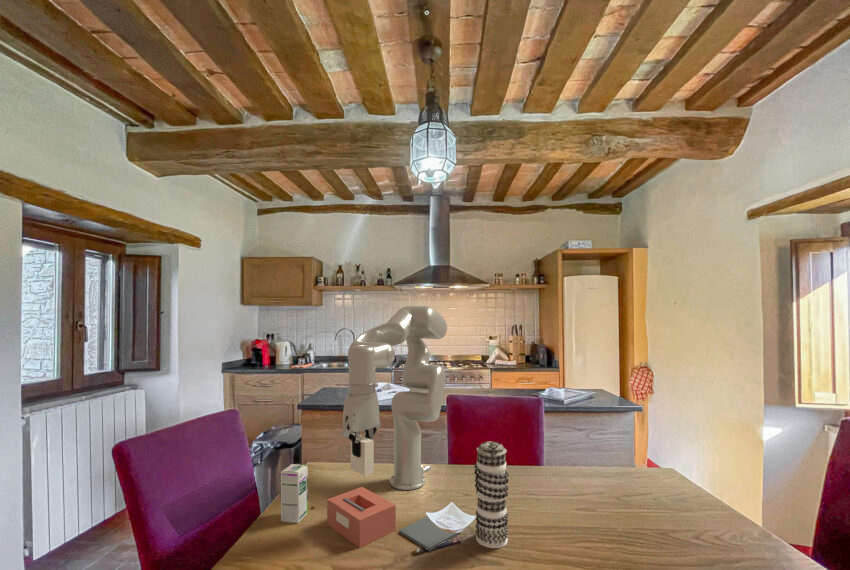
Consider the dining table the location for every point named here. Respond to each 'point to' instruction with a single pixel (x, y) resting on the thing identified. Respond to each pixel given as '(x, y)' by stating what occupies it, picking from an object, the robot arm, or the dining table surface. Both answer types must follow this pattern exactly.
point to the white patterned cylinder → (491, 495)
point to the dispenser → (361, 516)
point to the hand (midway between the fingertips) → (361, 453)
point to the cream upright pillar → (364, 457)
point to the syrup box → (294, 493)
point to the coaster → (426, 533)
